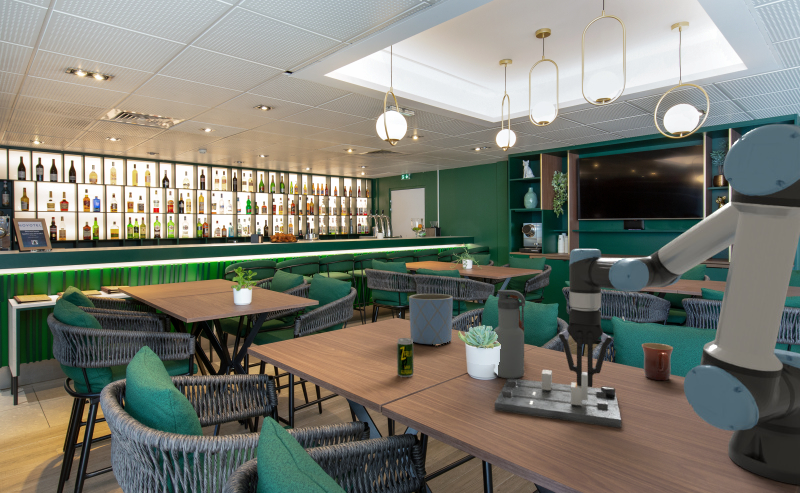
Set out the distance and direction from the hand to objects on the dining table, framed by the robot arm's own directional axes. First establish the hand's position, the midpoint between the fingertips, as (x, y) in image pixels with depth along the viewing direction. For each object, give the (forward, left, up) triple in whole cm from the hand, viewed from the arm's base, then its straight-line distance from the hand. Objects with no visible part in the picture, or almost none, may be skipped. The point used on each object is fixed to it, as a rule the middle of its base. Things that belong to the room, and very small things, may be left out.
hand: (584, 398), depth 116 cm
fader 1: (+9, +10, -1) cm, 13 cm away
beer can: (+12, +55, -4) cm, 56 cm away
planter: (+60, +62, -4) cm, 86 cm away
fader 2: (0, +2, -1) cm, 2 cm away
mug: (+37, -22, -4) cm, 43 cm away
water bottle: (+25, +23, -4) cm, 34 cm away
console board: (+4, +7, -4) cm, 9 cm away
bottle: (+43, +24, -4) cm, 49 cm away
